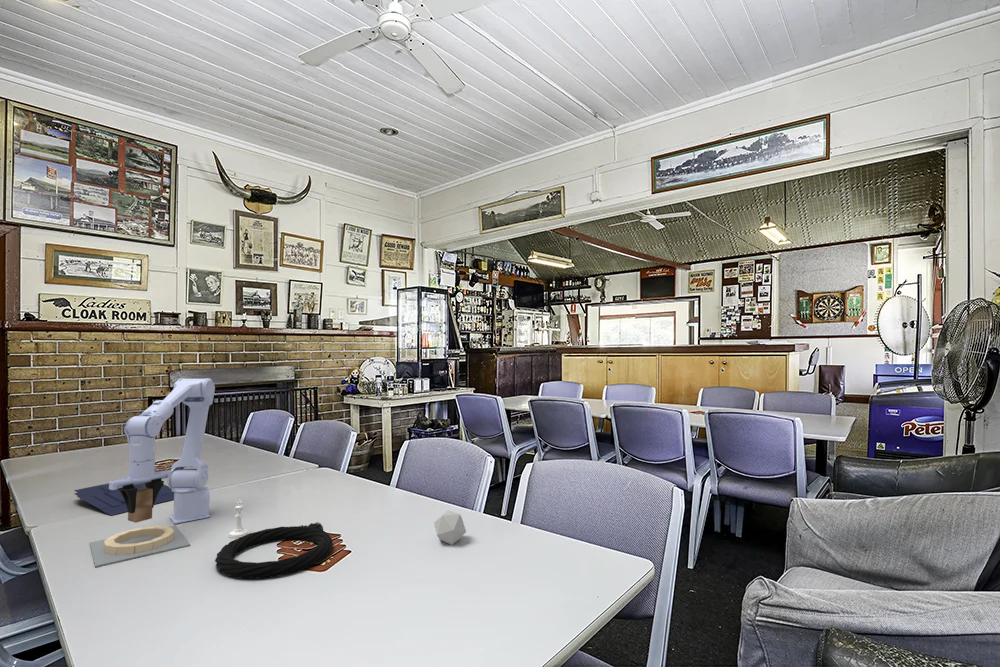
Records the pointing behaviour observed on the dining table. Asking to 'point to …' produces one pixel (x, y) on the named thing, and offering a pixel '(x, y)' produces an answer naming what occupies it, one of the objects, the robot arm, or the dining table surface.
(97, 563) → the bead board
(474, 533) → the dining table surface
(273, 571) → the cable lock
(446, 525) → the die
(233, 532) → the chess piece
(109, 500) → the dark blue flat plate
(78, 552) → the dining table surface
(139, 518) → the wooden peg
